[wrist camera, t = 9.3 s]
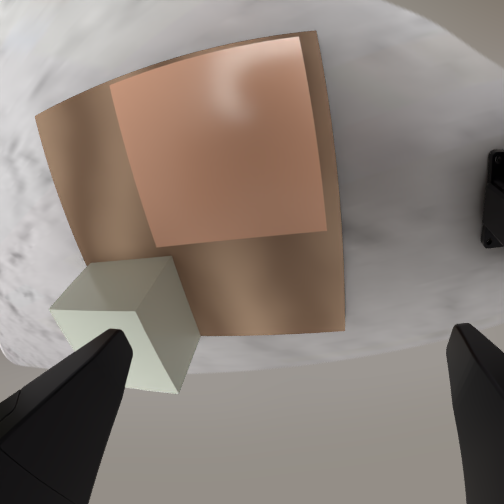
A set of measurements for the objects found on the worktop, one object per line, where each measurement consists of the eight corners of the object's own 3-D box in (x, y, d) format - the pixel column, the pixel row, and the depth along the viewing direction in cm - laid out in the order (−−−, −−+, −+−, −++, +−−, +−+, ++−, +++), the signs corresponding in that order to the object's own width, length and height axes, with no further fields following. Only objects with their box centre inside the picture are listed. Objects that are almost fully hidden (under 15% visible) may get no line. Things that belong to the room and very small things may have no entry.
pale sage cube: (171, 255, 20) (135, 311, 16) (200, 335, 24) (178, 393, 19) (90, 263, 22) (48, 309, 17) (124, 333, 25) (96, 382, 21)
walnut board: (315, 33, 13) (316, 30, 13) (344, 321, 22) (344, 330, 21) (43, 113, 17) (34, 116, 17) (125, 325, 26) (120, 333, 25)
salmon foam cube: (300, 50, 13) (298, 36, 9) (321, 183, 17) (327, 230, 12) (165, 79, 15) (109, 85, 10) (195, 199, 18) (156, 247, 13)
